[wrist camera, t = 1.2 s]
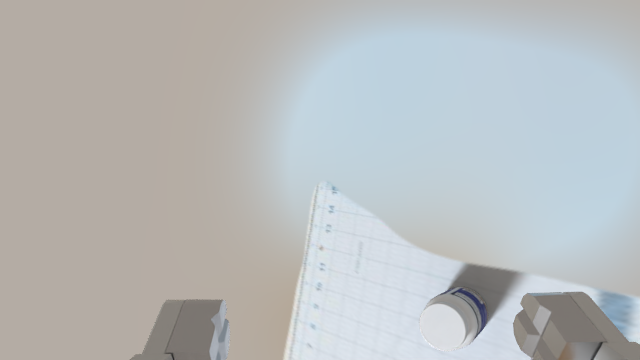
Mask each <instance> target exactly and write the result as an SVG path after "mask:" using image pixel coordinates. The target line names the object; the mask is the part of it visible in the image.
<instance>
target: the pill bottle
mask: <svg viewBox="0 0 640 360" xmlns="http://www.w3.org/2000/svg"><path fill="white" fill-rule="evenodd" d="M487 320H488V310H487V306H486V304H485V302H484V300H483V299H482V298H481V296H480V295H479V294H477V293H476V292H475V291H473V290H471V289H468V288H465V287H456V288H452V289H449V290H447V291H445V292H444V293H442V294H440V295H438V296H436V297H434V298H433V299H431V300H430V301H429V303H428V304H427V305H426V307H425V309H424V311H423V312H422V314H421V316H420V322H419V325H420V331H421V333H422V336H423V337H424V339H425V340H426V341H427V343H429V344H430V345H431V346H432V347H434V348H436V349H438V350H441V351H452V350H455V349H461V348H464V347H466V346H468V345H469V344H470V343H471V342H472V341H473V340H474V339H475V338H476V337H477V336H478V334H479V333H480V332H481V331H482V330H483V329H484V327H485V325H486V323H487Z"/></svg>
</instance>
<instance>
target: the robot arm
mask: <svg viewBox="0 0 640 360" xmlns="http://www.w3.org/2000/svg"><path fill="white" fill-rule="evenodd" d="M520 304H521V305H522V307H523V310H522V311H521V312H519V313H518V314H517V315H516V317H515V320H514V323H513V327H514V335H515V338H516V341H517V343H518V345H519V347H520V349H521V351H523V352H524V353H526V354H527V355H528V356H530V357H531V360H640V345H639V344H638V343H636V342H629V341H628V340H627V339H626V338H625V337H624V336H623V334H622V333H621V332H620V331H619V330H618V329H617V328H616V326H615V325H614V324H613V323H612V322H611V321H610V320H609V318H608V317H607V316H606V315H605V314H604V313H603V312H602V310H601V309H600V308H599V307H598V306H597V305H596V304H595V302H594V301H593V300H592V299H591V298H590V297H589V296H588V295H587V294H585V293H584V292H563V293H561V292H555V293H527V294H526V295H525V296H523V298H522V301H521V303H520ZM226 311H227V308H226V302H225V300H166V302H165V303H164V304H163V305H162V307H161V310H160V312H159V315H158V317H157V320H156V322H155V324H154V327H153V329H152V331H151V334H150V336H149V338H148V341H147V343H146V345H145V348H144V350H143V353H142V354H137V355H135V356H134V357H132V358H131V359H130V360H226V358H227V355H228V349H229V340H230V328H229V322H228V320H227V319H225V315H226Z"/></svg>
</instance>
